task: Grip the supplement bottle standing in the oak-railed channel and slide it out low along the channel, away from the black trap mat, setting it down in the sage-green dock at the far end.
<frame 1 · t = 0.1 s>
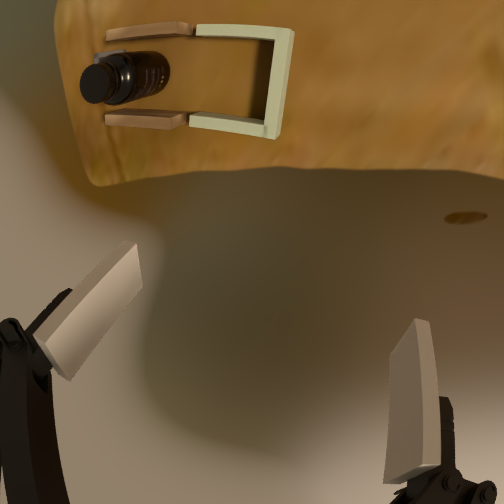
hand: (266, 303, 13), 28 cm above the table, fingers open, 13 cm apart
dock: (239, 77, 33), on the table
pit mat: (109, 75, 36), on the table
channel: (154, 73, 35), on the table
supplement bottle: (152, 73, 35), on the table
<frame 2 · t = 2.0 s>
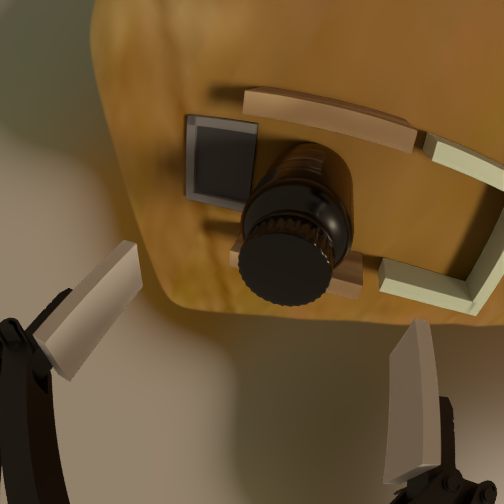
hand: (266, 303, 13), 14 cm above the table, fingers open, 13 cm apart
dock: (452, 223, 22), on the table
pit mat: (219, 162, 25), on the table
channel: (317, 183, 24), on the table
supplement bottle: (312, 180, 24), on the table
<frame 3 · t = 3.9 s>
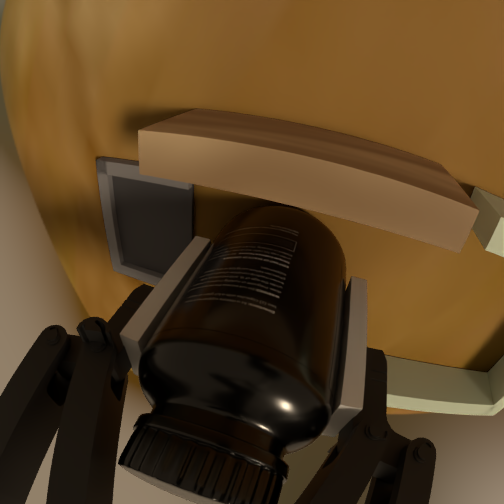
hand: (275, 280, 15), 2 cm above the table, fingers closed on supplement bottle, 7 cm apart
dock: (486, 314, 14), on the table
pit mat: (147, 226, 17), on the table
channel: (291, 264, 16), on the table
supplement bottle: (282, 259, 16), on the table, touching gripper
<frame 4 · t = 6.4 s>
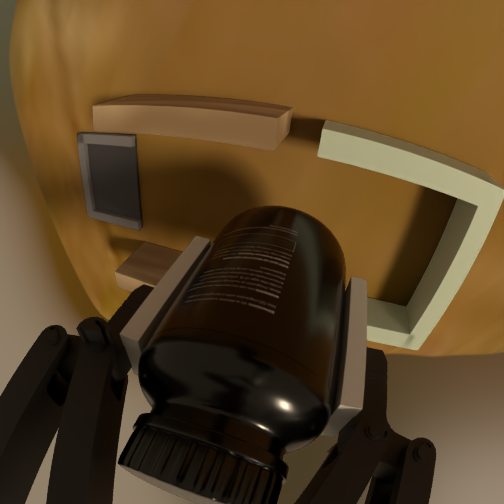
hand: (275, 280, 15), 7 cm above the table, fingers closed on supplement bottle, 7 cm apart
dock: (377, 237, 19), on the table
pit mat: (110, 178, 23), on the table
channel: (201, 195, 21), on the table
supplement bottle: (282, 259, 16), point 5 cm above the table, touching gripper
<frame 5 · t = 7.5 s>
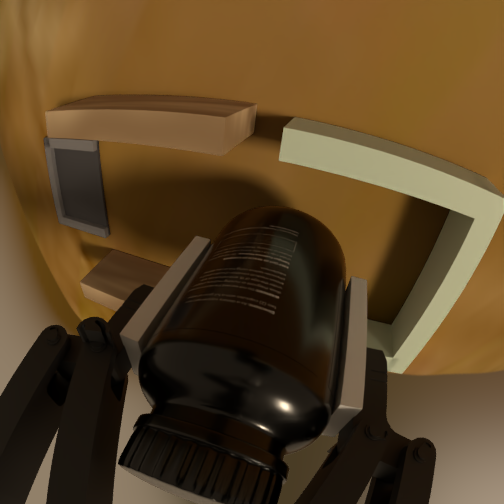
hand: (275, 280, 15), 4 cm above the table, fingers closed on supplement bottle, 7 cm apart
dock: (357, 250, 17), on the table
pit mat: (77, 184, 21), on the table
channel: (164, 202, 19), on the table
supplement bottle: (282, 259, 16), point 3 cm above the table, touching gripper
when the fingers open (2 cm above the table, at t = 8.7 s): supplement bottle stays where it is, on the table.
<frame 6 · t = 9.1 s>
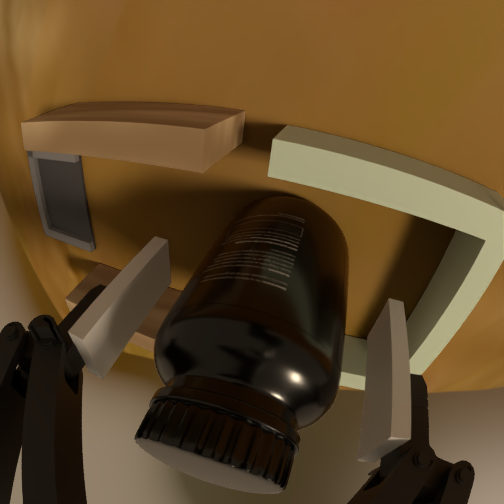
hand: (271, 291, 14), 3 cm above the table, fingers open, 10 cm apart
dock: (355, 269, 16), on the table
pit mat: (61, 195, 19), on the table
channel: (149, 217, 18), on the table
supplement bottle: (287, 248, 17), on the table
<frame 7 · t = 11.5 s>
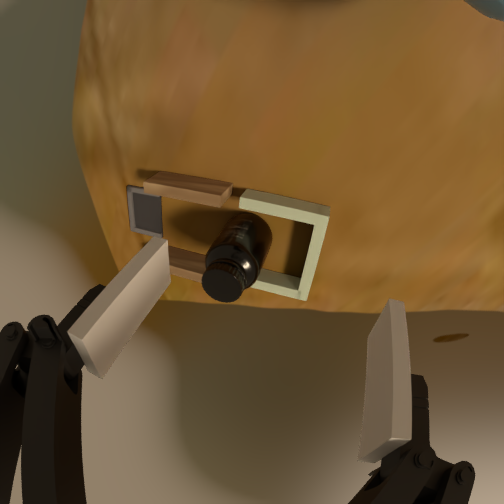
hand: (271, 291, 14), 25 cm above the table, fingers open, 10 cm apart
dock: (276, 240, 42), on the table
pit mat: (145, 211, 46), on the table
channel: (193, 221, 44), on the table
supplement bottle: (250, 233, 43), on the table
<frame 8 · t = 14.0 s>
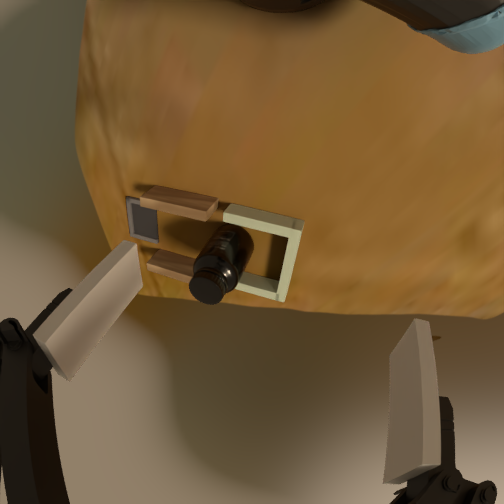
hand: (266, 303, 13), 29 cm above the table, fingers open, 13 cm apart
dock: (258, 248, 48), on the table
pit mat: (143, 219, 51), on the table
channel: (185, 230, 50), on the table
supplement bottle: (234, 241, 48), on the table
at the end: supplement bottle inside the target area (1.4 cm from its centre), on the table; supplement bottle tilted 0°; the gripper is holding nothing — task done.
